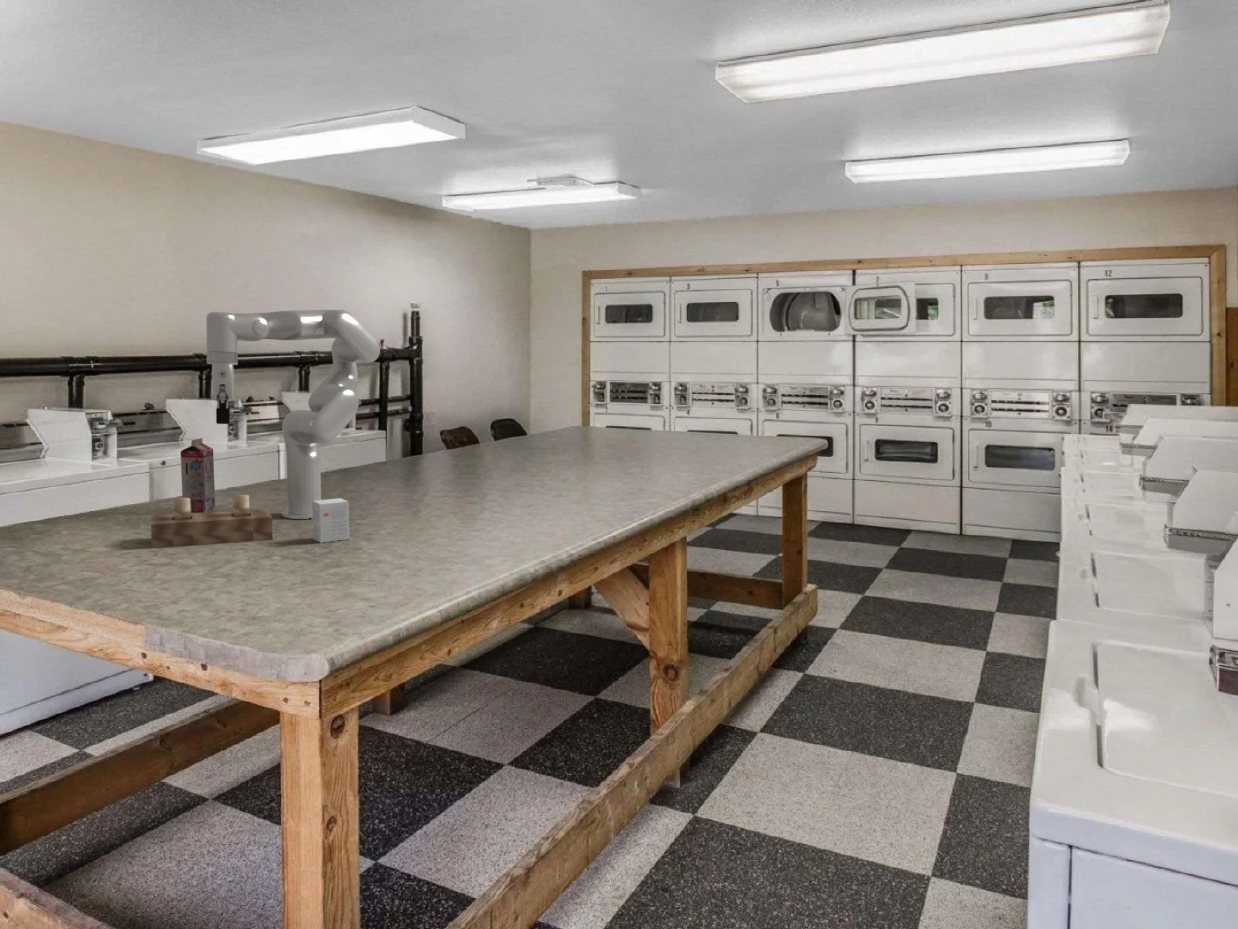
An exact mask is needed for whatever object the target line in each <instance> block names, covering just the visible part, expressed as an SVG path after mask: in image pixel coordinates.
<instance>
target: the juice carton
mask: <svg viewBox="0 0 1238 929" xmlns="http://www.w3.org/2000/svg"><path fill="white" fill-rule="evenodd" d="M190 444H191V445H190V446H188V447H187V448H184V449H181V451H180V466H181V467H180V470H181V471H180V472H181V493H182V494H181V495H182V497H181V498H190V510H191V513H205V511H206V512H210V511H212V510H214V509H215V510H216V494H215V492H216V490H215V489H216V488H215V464H214V462H215V461H214V458H215V457H214V449H213V448H212V447H210V446H208V445H207V444H205V443H203V438H202V437H201V438H196V439H193V440H191V443H190ZM215 510H214V511H215ZM212 512H213V511H212Z"/></svg>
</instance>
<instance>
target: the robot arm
mask: <svg viewBox="0 0 1238 929" xmlns="http://www.w3.org/2000/svg"><path fill="white" fill-rule="evenodd" d="M205 323H206V364H209V365H211V376H212V377H211V378H212V381H211V382H212V392H213V397H214V401H215V402H216V409H215V411H216V412H215V419H216V420H215V422H216V424H217V425H229V424H230V417H231V416H230V406H229V400H231V402H234V401H235V371H234V367H235V365H236V366H238V359H239V358H238V356H239V354H238V352H239V350H238V342H239V341H240V342H259V341H262V340H277V341H302V340H303V341H304V340H306V341H307V340H322V339H323V340H325V339H334V340H333V341H332V344H331V355H332V368H331V370H330V372H329V373H328V375H327V376H326V377H325V378H324V379H323V380H322V382H320V383H319V385H318V386H317V387H316V388H315V389H314V390H313V391H312V393H311V394H310V395H309V398H308V401H307V402H308V408H309V409H310V410H307V409H297V410H296V409H295V410H293V411H290V412H289V413H288V414H286V415H285V416H284V418H283V421H282V424H281V425H282V426H281V428H282V429H281V430H282V435H283V440H284V443H285V444H284V445H285V454H286V486H287V487H286V491H287V492H286V498H287V509H285V510H283V511H282V512H281V516H282V517H283V518H286V519H291V520H292V519H293V520H308V519H309V518H311V519H312V501H316V500H323V499H322V480H321V479H322V476H321V475H322V472H321V471H322V470H321V468H322V467H321V453H320V449H319V447H318V446H319V445H327V444H330V443H332V442H333V441H334V440H335V439H336V438H337V437H338V436H339V435H340V434H341V433H342V431H343V430H344V429H345V428H346V427H347V425H349V424H350V422H351V420H353V418H355V416H356V414H357V412H358V410H359V404H360V400H359V396H358V394H357V392H356V391H355V388H356V386H357V384H358V381H359V375H358V374H359V373H358V367H357V364H371V363H374V362H375V361H376V360H377V359H378V358H379V356H380V352H381V346H380V344H379V341H378V340H377V338H376V337H375V336H374V335H373V333H372V332H371V331H369V329H367V327H365V326H364V325H363V324H362V322H360V320H359V319H357V317H355V316H354V315H353V314H352V313H350V312H349V311H347V310H344V309H309V310H308V309H305V310H303V309H302V310H294V309H293V310H280V311H279V310H278V311H271V312H268V311H267V312H247V313H244V312H241V313H240V312H239V313H238V312H237V313H236V312H235V313H232V312H225V311H224V312H221V311H211V312H209V313H208V314H206V322H205Z"/></svg>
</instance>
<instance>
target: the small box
mask: <svg viewBox="0 0 1238 929" xmlns="http://www.w3.org/2000/svg"><path fill="white" fill-rule="evenodd" d="M349 503H350V502H349V501H348V500H346V499H343V498H341V497H340V498H339V497H338V498H329V499H328V498H327V499H322V500H316V501H312V518H311V520H312V539H313V540H314V541H316V540H317V541H318V542H317V541H316V542H317V543H319V542H320V544H323V543H322V542H326V543H331V542H330V541H334V542H338V541H337V540H342V541H348V540H347V539H349V540H350V514H349V513H350V508H349V507H350V506H349Z"/></svg>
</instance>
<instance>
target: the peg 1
mask: <svg viewBox="0 0 1238 929" xmlns="http://www.w3.org/2000/svg"><path fill="white" fill-rule="evenodd" d="M172 514H173V520H188V519H191V510H190V498H182V497H176V498H172Z"/></svg>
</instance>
